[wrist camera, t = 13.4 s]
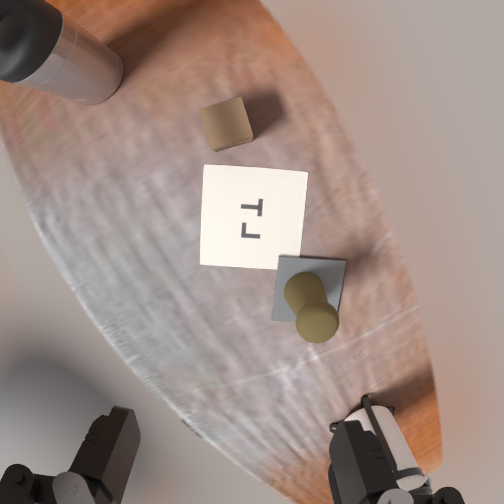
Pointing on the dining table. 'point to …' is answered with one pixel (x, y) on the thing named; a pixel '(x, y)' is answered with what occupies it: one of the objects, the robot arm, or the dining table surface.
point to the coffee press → (387, 450)
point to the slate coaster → (323, 268)
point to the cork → (311, 307)
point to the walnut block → (226, 124)
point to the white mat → (251, 215)
